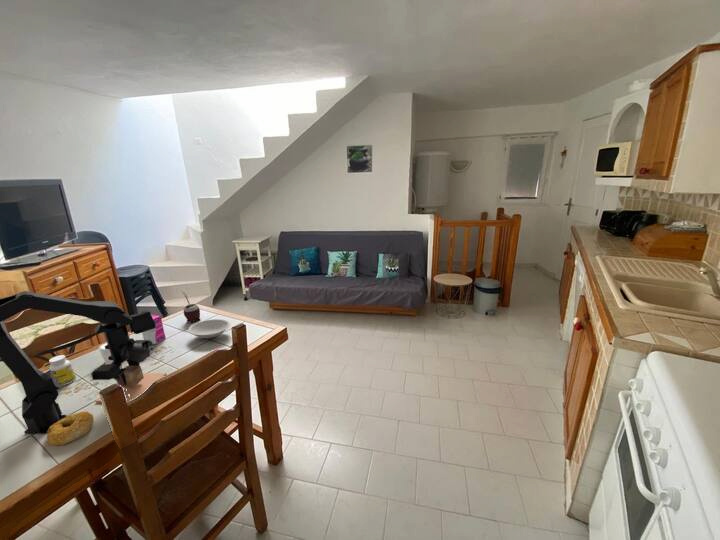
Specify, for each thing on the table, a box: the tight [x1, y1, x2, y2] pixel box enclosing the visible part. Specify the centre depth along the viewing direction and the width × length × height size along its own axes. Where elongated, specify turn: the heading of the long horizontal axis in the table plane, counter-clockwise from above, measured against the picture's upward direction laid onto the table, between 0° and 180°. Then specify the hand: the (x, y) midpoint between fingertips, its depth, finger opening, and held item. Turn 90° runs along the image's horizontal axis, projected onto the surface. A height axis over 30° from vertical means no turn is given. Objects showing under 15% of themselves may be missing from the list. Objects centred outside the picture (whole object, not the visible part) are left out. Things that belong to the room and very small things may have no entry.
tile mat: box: [95, 372, 167, 404], centre depth 103 cm, size 14×14×1 cm
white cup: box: [98, 341, 113, 364], centre depth 118 cm, size 7×7×7 cm
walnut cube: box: [116, 365, 144, 388], centre depth 101 cm, size 5×5×5 cm
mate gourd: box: [181, 290, 201, 325], centre depth 147 cm, size 8×8×15 cm
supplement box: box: [141, 314, 166, 346], centre depth 130 cm, size 6×6×12 cm
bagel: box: [46, 410, 94, 447], centre depth 85 cm, size 10×11×5 cm
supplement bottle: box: [48, 354, 76, 387], centre depth 105 cm, size 5×5×10 cm
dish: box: [187, 318, 231, 339], centre depth 134 cm, size 18×14×5 cm
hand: (130, 379), depth 102 cm, fingers closed on walnut cube, 5 cm apart
